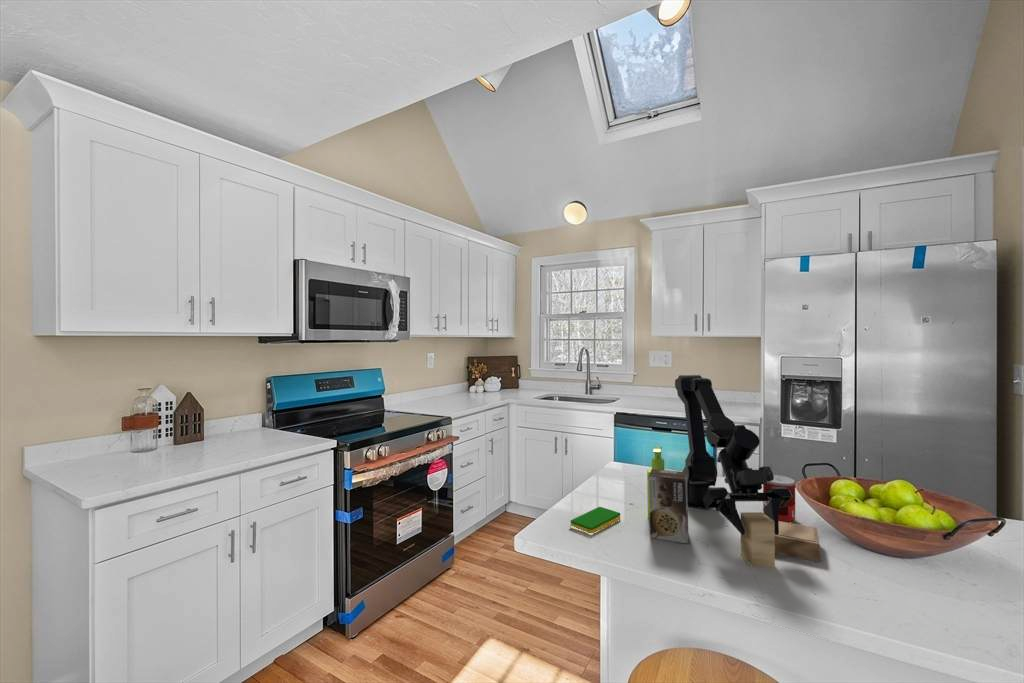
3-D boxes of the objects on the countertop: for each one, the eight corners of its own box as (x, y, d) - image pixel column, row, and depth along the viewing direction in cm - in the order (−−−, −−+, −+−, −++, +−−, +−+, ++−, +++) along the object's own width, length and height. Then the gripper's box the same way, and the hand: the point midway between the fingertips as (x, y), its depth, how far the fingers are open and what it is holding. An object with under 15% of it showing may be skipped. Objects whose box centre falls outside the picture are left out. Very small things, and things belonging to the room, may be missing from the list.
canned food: (786, 512, 127) (785, 474, 127) (801, 524, 119) (801, 483, 119) (758, 512, 128) (757, 474, 128) (771, 524, 120) (771, 483, 120)
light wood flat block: (768, 551, 105) (768, 533, 105) (769, 534, 114) (769, 518, 114) (819, 561, 100) (819, 543, 100) (816, 543, 108) (816, 526, 108)
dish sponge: (621, 521, 125) (620, 512, 124) (591, 537, 115) (591, 528, 115) (599, 514, 130) (599, 506, 130) (569, 529, 120) (569, 520, 120)
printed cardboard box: (689, 533, 115) (688, 471, 115) (687, 544, 109) (686, 479, 109) (652, 528, 119) (651, 467, 119) (648, 538, 113) (648, 474, 113)
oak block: (741, 555, 104) (740, 512, 104) (762, 555, 104) (762, 512, 103) (752, 566, 99) (751, 521, 99) (774, 566, 99) (774, 521, 98)
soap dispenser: (646, 521, 123) (645, 449, 123) (648, 512, 130) (647, 443, 129) (668, 524, 121) (668, 451, 121) (670, 514, 127) (669, 445, 127)
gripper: (707, 453, 105) (729, 519, 94) (787, 453, 104) (819, 519, 94) (695, 476, 113) (714, 539, 102) (769, 475, 112) (796, 539, 102)
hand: (760, 534), depth 100 cm, fingers open, 7 cm apart
